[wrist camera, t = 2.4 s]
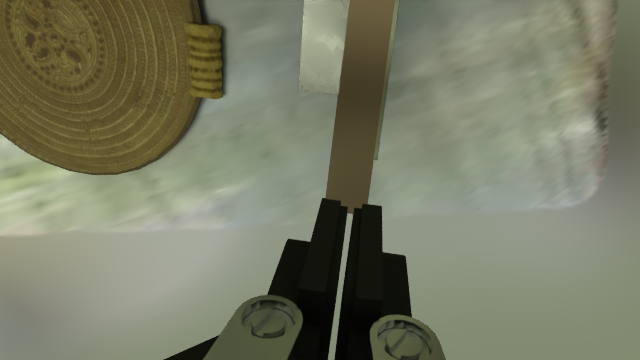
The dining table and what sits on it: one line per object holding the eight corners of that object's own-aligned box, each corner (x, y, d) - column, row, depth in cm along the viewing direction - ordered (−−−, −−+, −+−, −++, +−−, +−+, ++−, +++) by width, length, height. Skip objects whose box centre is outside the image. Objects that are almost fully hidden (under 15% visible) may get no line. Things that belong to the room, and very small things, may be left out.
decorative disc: (-160, -159, 34) (195, -172, 30) (-115, -148, 37) (214, -158, 33) (-37, 169, 46) (226, 195, 42) (-11, 158, 49) (238, 180, 45)
